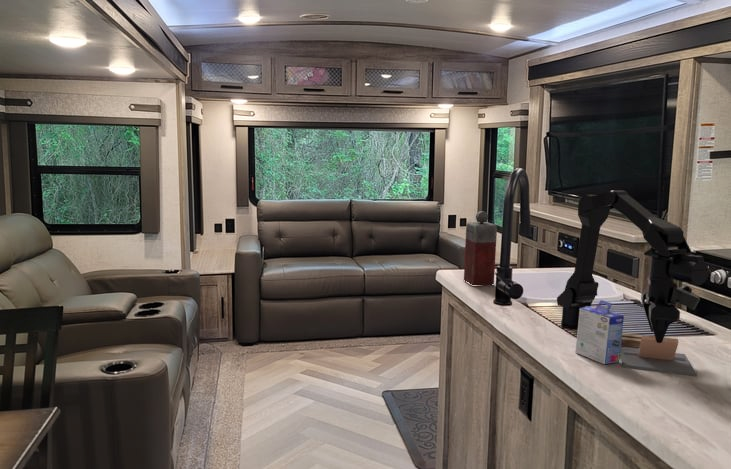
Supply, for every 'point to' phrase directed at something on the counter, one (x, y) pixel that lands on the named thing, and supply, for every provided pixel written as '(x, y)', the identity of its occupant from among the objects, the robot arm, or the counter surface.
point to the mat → (656, 362)
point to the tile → (657, 348)
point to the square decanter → (480, 251)
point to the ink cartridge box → (599, 333)
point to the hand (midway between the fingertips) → (656, 337)
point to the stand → (631, 340)
